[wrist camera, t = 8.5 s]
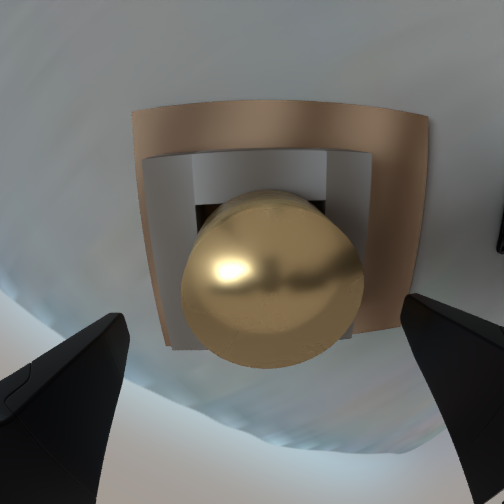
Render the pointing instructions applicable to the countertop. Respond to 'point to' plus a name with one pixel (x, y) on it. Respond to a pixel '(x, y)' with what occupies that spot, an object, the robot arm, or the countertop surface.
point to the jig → (283, 187)
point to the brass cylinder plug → (270, 281)
